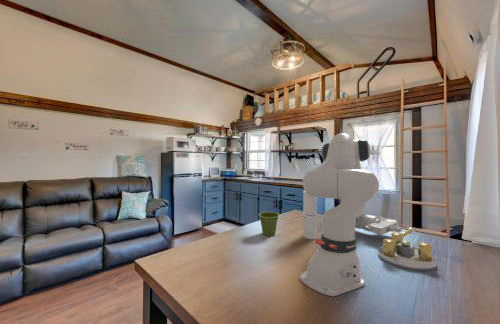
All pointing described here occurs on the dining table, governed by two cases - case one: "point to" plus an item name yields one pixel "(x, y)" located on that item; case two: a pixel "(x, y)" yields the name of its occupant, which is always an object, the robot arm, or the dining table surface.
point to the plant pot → (268, 222)
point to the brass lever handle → (401, 235)
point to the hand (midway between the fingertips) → (401, 230)
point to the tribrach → (408, 255)
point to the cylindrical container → (309, 216)
